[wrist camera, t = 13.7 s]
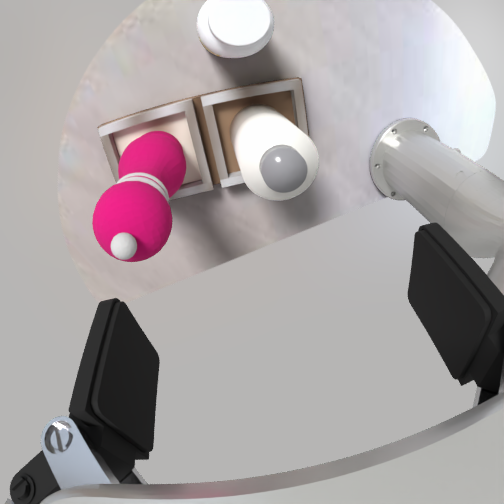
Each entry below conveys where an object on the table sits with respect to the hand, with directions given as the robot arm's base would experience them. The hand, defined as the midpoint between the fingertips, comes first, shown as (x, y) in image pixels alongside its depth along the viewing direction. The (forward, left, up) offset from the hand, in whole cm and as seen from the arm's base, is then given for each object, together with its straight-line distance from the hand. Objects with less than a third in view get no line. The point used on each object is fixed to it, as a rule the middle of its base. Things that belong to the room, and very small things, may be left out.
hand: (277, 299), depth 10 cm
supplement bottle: (-3, -10, -32) cm, 33 cm away
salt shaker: (-4, +3, -30) cm, 30 cm away
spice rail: (+2, +3, -31) cm, 31 cm away
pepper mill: (+8, +3, -30) cm, 31 cm away
